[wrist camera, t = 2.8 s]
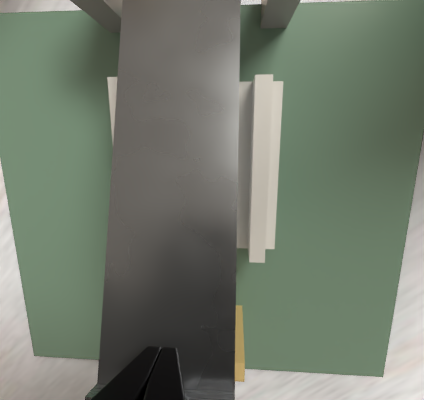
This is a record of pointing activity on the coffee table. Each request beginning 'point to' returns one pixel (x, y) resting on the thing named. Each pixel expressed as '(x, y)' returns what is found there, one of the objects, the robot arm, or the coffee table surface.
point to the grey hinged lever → (174, 193)
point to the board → (247, 174)
